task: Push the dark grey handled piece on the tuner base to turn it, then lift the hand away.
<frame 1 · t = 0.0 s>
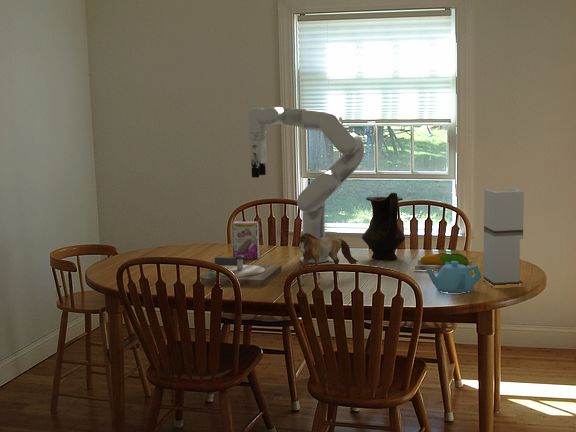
hand: (258, 176, 349), 37 cm above the table, tool pointing down, fingers open, 9 cm apart
dark grey handled piece: (229, 262, 320), point 6 cm above the table, hinge at 0.0°
candy bar box: (246, 259, 357), on the table
jug: (384, 260, 346), on the table
horse figurine: (330, 282, 308), on the table
grey tall boxy piece: (502, 284, 297), on the table
corn rest: (443, 268, 324), on the table
corn: (443, 269, 324), on the table
tuner base: (240, 277, 320), on the table
teapot: (453, 291, 290), on the table
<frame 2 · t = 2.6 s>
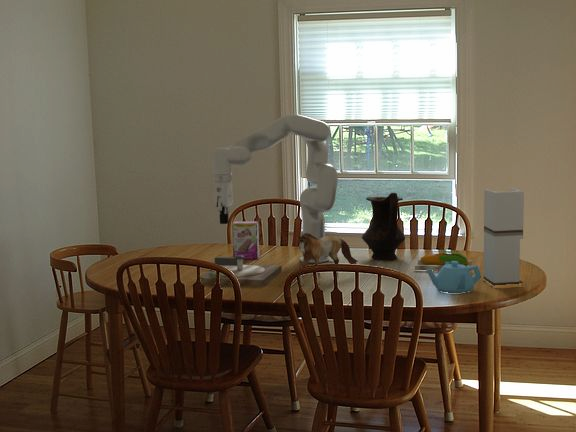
hand: (224, 223, 325), 21 cm above the table, tool pointing down, fingers closed
nothing on the table moved.
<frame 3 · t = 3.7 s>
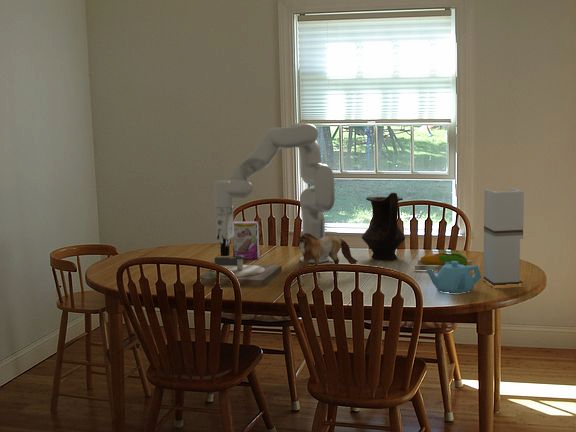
hand: (225, 255, 327), 7 cm above the table, tool pointing down, fingers closed
nothing on the table moved.
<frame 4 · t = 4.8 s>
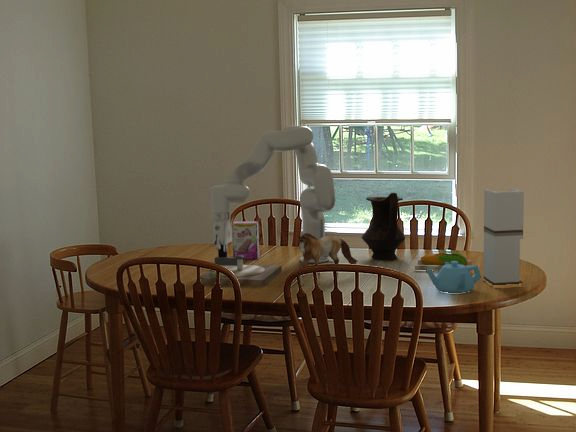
hand: (223, 261, 324), 6 cm above the table, tool pointing down, fingers closed
dark grey handled piece: (229, 262, 320), point 6 cm above the table, hinge at 0.0°, touching gripper
everything else where it was.
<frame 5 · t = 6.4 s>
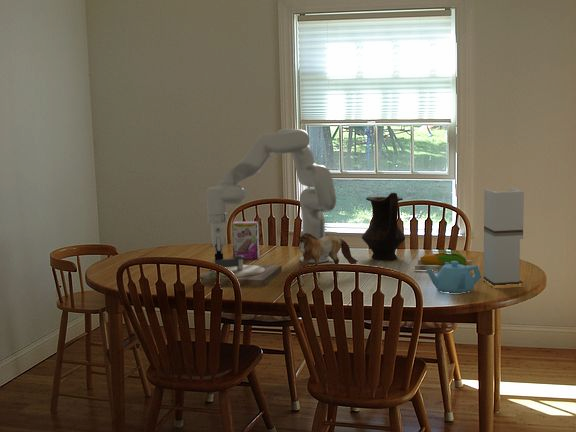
hand: (219, 263, 319), 6 cm above the table, tool pointing down, fingers closed
dark grey handled piece: (229, 263, 317), point 6 cm above the table, hinge at 34.8°, touching gripper
corn: (442, 269, 325), on the table, touching corn rest
everything else where it was.
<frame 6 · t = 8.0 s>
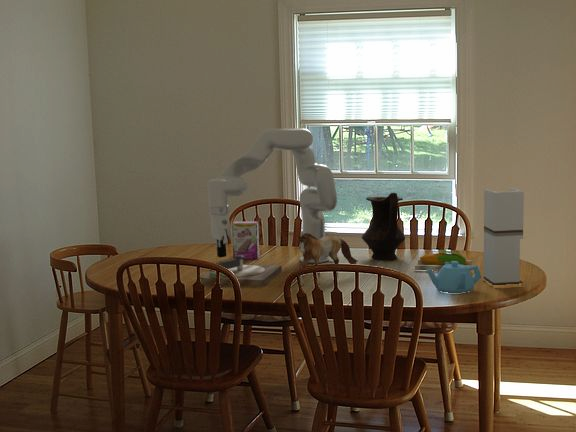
hand: (222, 256, 315), 9 cm above the table, tool pointing down, fingers closed
dark grey handled piece: (232, 264, 316), point 6 cm above the table, hinge at 61.3°
corn: (442, 269, 325), on the table
everything else where it was.
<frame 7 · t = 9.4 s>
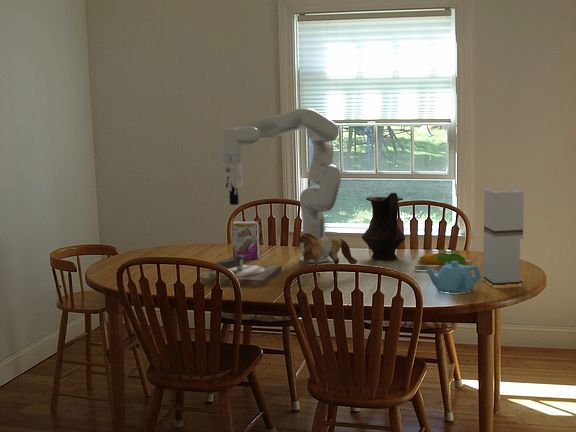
hand: (234, 204, 324), 28 cm above the table, tool pointing down, fingers closed
nothing on the table moved.
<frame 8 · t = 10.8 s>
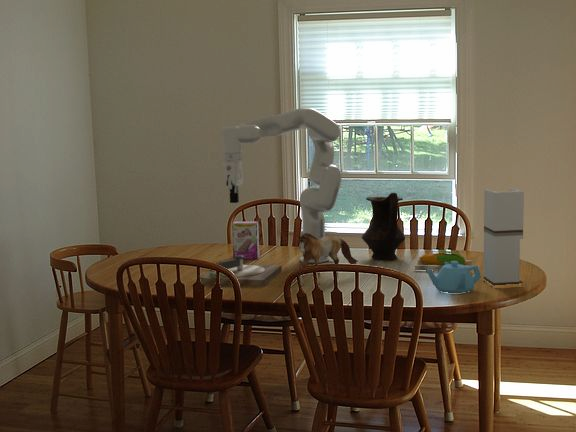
hand: (234, 202, 324), 29 cm above the table, tool pointing down, fingers closed
corn: (441, 269, 325), on the table, touching corn rest
everything else where it was.
at the end: dark grey handled piece at +61° (first picture: +0°); dark grey handled piece touching nothing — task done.
